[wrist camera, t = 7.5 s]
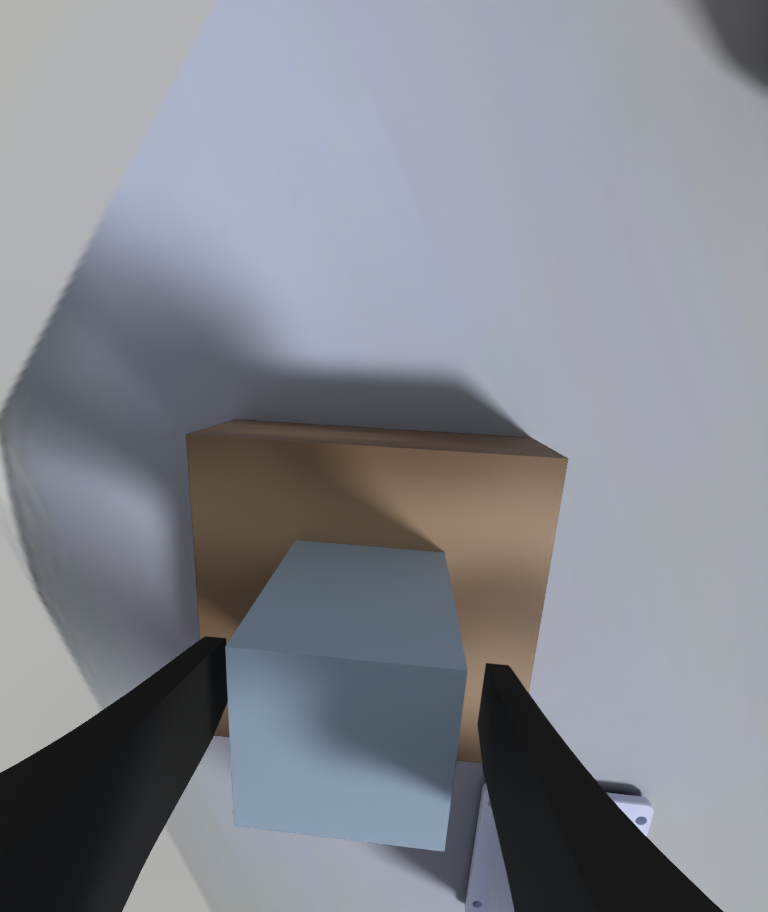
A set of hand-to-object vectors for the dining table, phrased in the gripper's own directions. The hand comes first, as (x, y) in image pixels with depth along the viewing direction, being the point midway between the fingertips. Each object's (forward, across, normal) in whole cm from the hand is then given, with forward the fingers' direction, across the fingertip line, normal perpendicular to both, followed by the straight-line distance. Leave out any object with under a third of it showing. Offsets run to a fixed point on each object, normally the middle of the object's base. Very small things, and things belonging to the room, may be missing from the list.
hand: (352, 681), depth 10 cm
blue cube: (+3, 0, 0) cm, 3 cm away
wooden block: (+7, 0, 0) cm, 7 cm away
